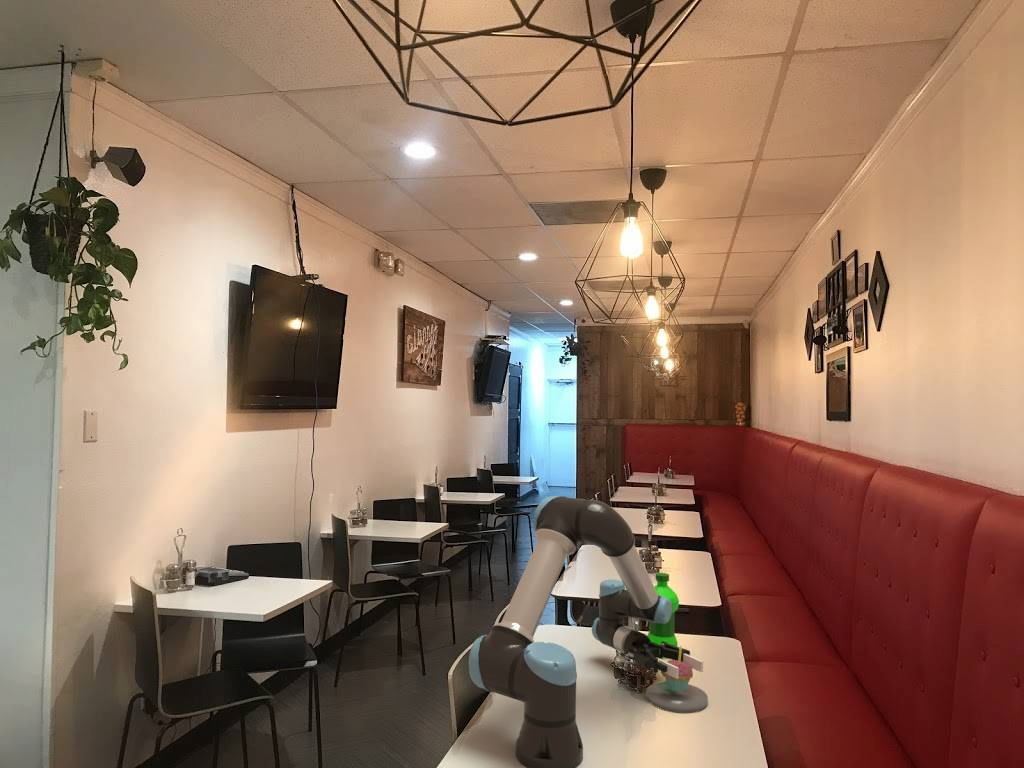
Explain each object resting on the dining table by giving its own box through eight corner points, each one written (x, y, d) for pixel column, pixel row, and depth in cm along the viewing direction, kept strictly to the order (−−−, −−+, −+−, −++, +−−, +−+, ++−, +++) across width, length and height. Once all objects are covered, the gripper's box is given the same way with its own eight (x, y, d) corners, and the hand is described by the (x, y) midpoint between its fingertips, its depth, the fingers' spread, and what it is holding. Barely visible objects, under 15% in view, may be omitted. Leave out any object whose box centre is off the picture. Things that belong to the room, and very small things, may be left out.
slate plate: (676, 718, 172) (676, 712, 172) (634, 694, 186) (634, 688, 186) (720, 704, 180) (720, 698, 181) (677, 682, 194) (677, 677, 194)
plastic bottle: (648, 645, 223) (649, 569, 224) (681, 651, 219) (682, 572, 220) (641, 656, 214) (642, 576, 215) (675, 661, 210) (675, 580, 211)
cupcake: (699, 692, 181) (699, 647, 181) (671, 697, 178) (672, 650, 178) (680, 680, 189) (681, 636, 189) (654, 684, 186) (654, 639, 186)
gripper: (659, 649, 204) (717, 676, 185) (603, 662, 193) (660, 692, 174) (659, 624, 204) (718, 648, 185) (604, 636, 194) (660, 663, 174)
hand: (689, 669), depth 179 cm, fingers closed on cupcake, 8 cm apart
